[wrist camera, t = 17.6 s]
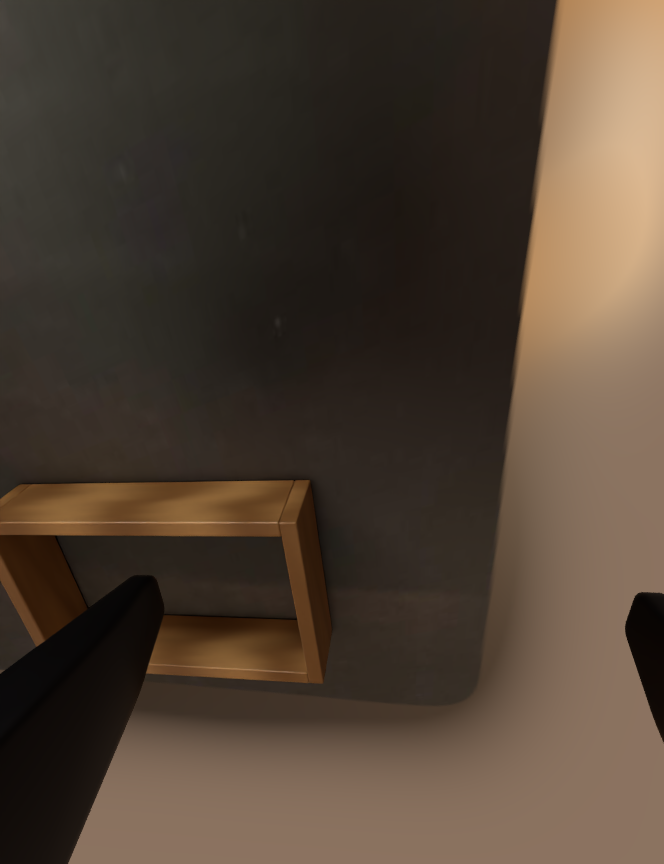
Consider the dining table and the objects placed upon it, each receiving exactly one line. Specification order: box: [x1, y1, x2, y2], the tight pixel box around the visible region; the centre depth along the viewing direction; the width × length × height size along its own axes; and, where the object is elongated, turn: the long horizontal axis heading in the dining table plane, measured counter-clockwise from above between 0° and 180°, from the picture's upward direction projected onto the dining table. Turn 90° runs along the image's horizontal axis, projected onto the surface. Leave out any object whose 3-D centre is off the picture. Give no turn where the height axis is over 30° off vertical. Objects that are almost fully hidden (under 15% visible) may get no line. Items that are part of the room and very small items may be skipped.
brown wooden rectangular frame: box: [0, 480, 332, 684], centre depth 26 cm, size 17×11×4 cm, turn 96°
